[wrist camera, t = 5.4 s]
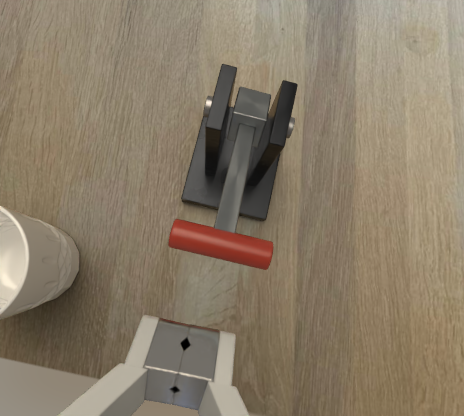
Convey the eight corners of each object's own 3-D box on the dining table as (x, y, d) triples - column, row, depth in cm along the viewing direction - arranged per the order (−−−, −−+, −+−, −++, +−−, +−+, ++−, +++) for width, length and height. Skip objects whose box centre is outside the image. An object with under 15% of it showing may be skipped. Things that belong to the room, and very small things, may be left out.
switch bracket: (263, 221, 31) (299, 196, 20) (181, 201, 31) (168, 163, 19) (284, 126, 33) (328, 51, 21) (207, 106, 33) (209, 19, 21)
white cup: (-19, 301, 28) (-140, 321, 18) (8, 211, 29) (-90, 185, 19) (74, 316, 28) (6, 345, 18) (97, 227, 30) (44, 209, 20)
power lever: (261, 278, 17) (274, 258, 15) (167, 256, 17) (168, 232, 15) (280, 126, 24) (291, 99, 22) (214, 109, 24) (219, 80, 22)
